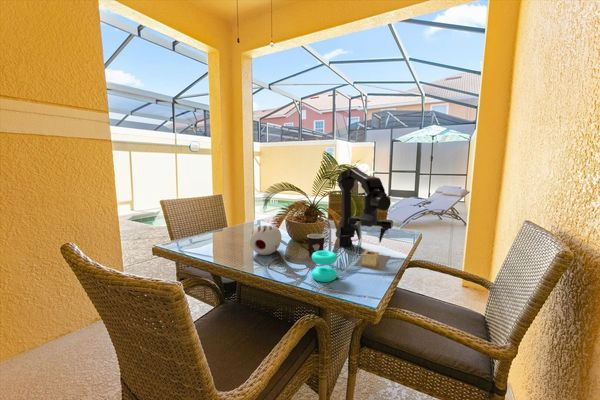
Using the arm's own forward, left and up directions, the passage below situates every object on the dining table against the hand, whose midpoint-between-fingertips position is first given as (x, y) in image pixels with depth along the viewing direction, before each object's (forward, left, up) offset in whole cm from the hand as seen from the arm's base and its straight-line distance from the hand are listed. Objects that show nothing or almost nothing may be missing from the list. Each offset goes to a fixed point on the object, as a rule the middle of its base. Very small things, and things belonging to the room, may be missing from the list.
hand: (369, 241), depth 123 cm
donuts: (-22, -14, -11) cm, 28 cm away
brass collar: (0, -4, -9) cm, 10 cm away
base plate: (+2, 0, -11) cm, 11 cm away
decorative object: (-47, +18, -11) cm, 52 cm away
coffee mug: (-24, +13, -11) cm, 30 cm away
